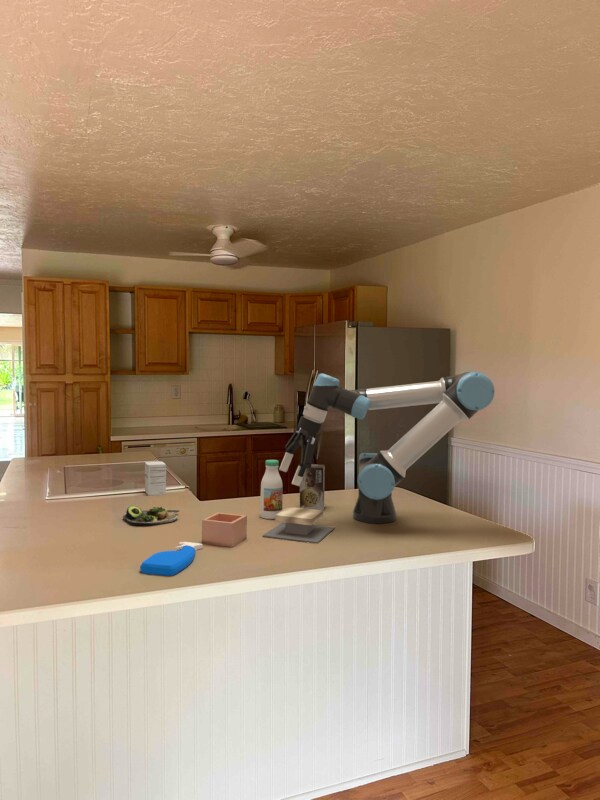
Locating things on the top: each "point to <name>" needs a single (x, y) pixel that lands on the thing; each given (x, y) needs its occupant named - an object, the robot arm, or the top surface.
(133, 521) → the salad plate
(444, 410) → the robot arm
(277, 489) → the milk bottle
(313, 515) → the lid
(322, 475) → the coffee box
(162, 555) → the spray bottle
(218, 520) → the open box
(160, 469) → the supplement box
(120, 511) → the top surface
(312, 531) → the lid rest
